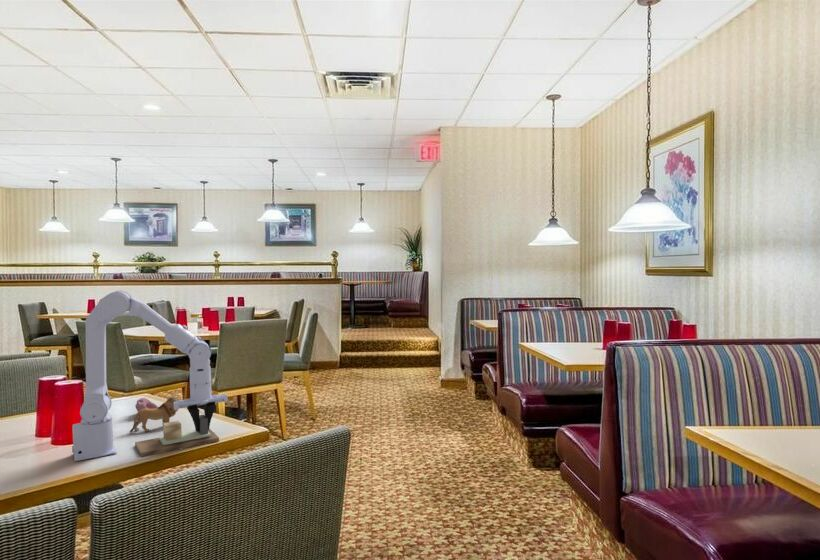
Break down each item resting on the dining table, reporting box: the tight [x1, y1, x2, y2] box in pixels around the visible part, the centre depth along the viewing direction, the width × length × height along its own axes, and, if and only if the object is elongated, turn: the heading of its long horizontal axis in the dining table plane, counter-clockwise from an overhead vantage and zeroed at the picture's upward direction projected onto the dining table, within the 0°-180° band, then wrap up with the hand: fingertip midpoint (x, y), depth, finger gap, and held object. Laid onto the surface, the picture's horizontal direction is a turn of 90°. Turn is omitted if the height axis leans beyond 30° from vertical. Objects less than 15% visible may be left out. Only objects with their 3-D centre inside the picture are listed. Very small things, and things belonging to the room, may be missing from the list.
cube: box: [162, 420, 183, 441], centre depth 150 cm, size 4×4×4 cm
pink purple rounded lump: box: [135, 397, 159, 412], centre depth 181 cm, size 10×5×7 cm, turn 18°
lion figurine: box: [129, 396, 180, 433], centre depth 165 cm, size 15×5×9 cm, turn 131°
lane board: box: [134, 428, 220, 458], centre depth 151 cm, size 20×11×1 cm, turn 124°
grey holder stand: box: [158, 413, 211, 445], centre depth 152 cm, size 12×7×5 cm, turn 124°
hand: (202, 429), depth 154 cm, fingers closed on grey holder stand, 2 cm apart
